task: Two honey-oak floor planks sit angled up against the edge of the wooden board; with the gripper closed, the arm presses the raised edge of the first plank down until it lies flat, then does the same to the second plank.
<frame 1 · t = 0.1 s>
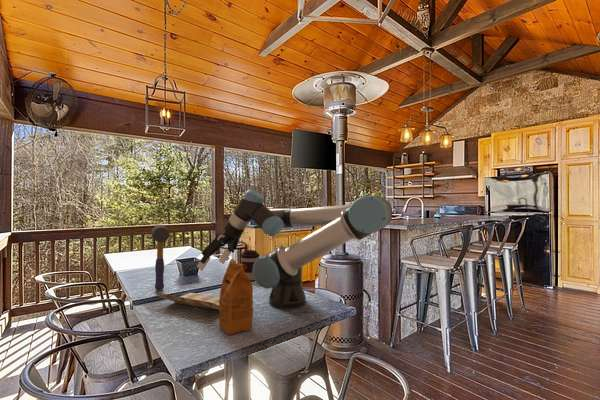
hand: (210, 265, 128), 15 cm above the table, tool tilted 35°, fingers open, 13 cm apart
plank 2: (177, 299, 121), point 3 cm above the table, hinge at 28.3°
wooden board: (206, 303, 127), on the table
coffee cup: (249, 279, 167), on the table
coffee package: (234, 327, 103), on the table
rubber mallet: (159, 290, 144), on the table
plank 1: (204, 304, 116), point 3 cm above the table, hinge at 28.3°
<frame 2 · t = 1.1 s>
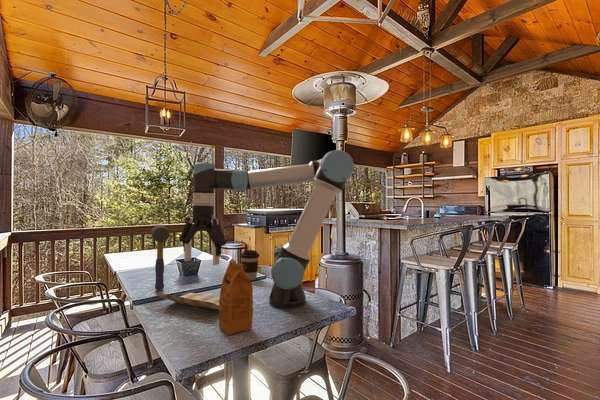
hand: (201, 262, 115), 19 cm above the table, tool pointing down, fingers open, 13 cm apart
nothing on the table moved.
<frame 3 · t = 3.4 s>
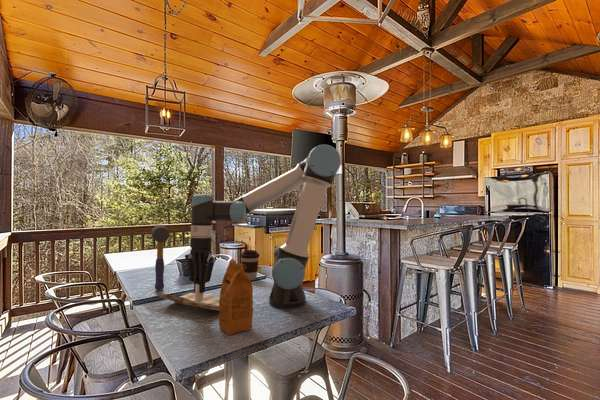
hand: (198, 301, 114), 5 cm above the table, tool pointing down, fingers closed
plank 1: (203, 305, 116), point 3 cm above the table, hinge at 21.9°, touching gripper
everything else where it was.
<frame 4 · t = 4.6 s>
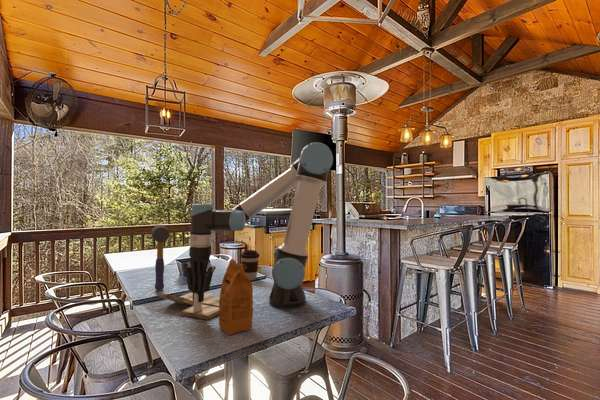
hand: (197, 310, 114), 2 cm above the table, tool pointing down, fingers closed
plank 1: (202, 311, 115), point 1 cm above the table, hinge at 0.2°, touching gripper
everything else where it was.
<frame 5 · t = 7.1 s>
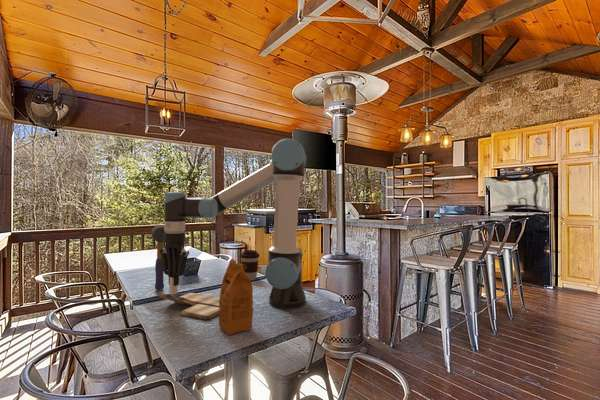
hand: (173, 293, 119), 6 cm above the table, tool pointing down, fingers closed
plank 2: (177, 299, 121), point 3 cm above the table, hinge at 28.3°, touching gripper
plank 1: (202, 311, 115), point 1 cm above the table, hinge at 0.1°
everything else where it was.
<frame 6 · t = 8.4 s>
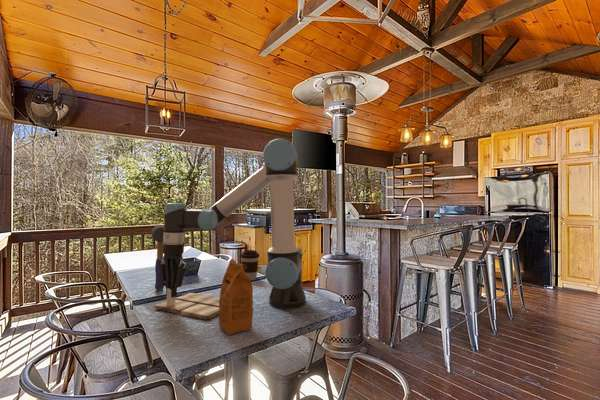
hand: (170, 305, 119), 2 cm above the table, tool pointing down, fingers closed
plank 2: (175, 305, 120), point 1 cm above the table, hinge at 0.7°, touching gripper
everything else where it was.
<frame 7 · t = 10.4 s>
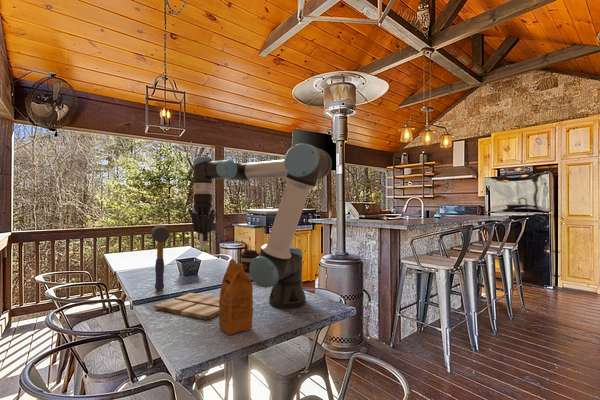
hand: (202, 248, 132), 21 cm above the table, tool pointing down, fingers closed
plank 2: (175, 306, 120), point 1 cm above the table, hinge at 0.4°
everything else where it was.
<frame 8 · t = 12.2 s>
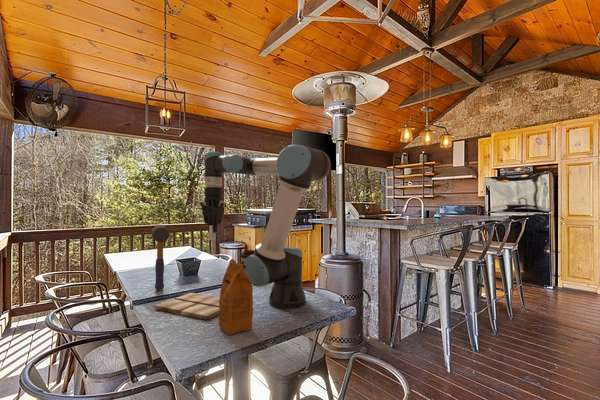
hand: (212, 239, 138), 24 cm above the table, tool pointing down, fingers closed
nothing on the table moved.
at the end: plank 1 at +0° (first picture: +28°); plank 2 at +0° (first picture: +28°); plank 2 touching nothing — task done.
